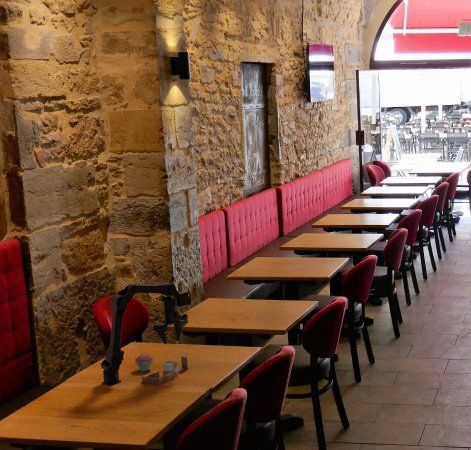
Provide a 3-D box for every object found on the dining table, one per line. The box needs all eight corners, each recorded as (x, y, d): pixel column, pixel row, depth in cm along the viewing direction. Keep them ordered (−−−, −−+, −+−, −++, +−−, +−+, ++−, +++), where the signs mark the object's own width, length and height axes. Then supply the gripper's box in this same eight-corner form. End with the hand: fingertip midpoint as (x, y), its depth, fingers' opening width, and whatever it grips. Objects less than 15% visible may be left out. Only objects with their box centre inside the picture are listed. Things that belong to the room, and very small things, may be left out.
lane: (157, 385, 386) (157, 379, 386) (142, 382, 392) (141, 376, 391) (172, 378, 394) (172, 373, 394) (157, 375, 400) (157, 370, 399)
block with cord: (171, 377, 396) (170, 364, 395) (163, 375, 399) (162, 363, 398) (190, 369, 407) (190, 356, 406) (182, 367, 410) (181, 355, 409)
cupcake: (132, 371, 409) (130, 346, 407) (142, 366, 416) (140, 341, 415) (147, 373, 405) (145, 348, 403) (157, 367, 412) (155, 343, 411)
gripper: (169, 315, 394) (171, 348, 396) (195, 306, 409) (197, 338, 411) (151, 312, 401) (153, 345, 403) (177, 304, 415) (180, 336, 417)
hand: (171, 341), depth 408 cm, fingers open, 9 cm apart
